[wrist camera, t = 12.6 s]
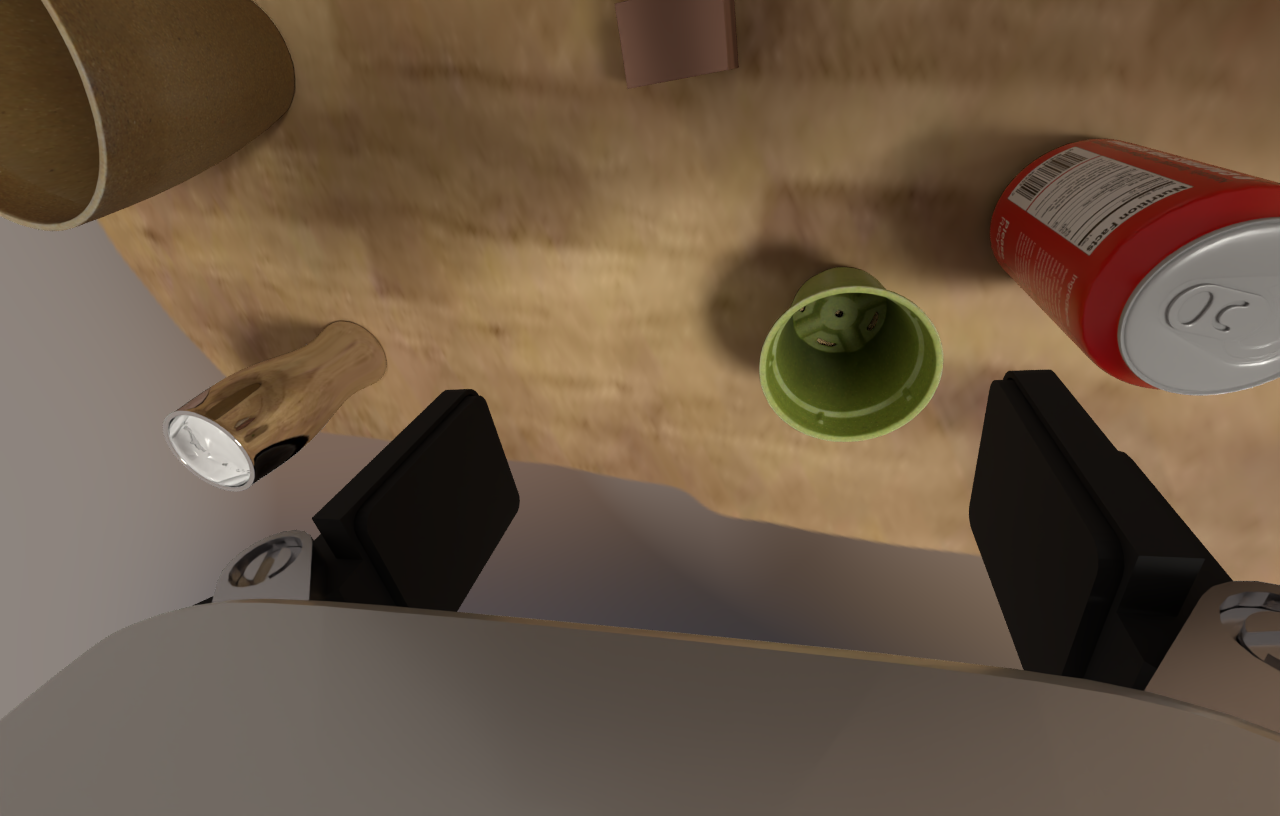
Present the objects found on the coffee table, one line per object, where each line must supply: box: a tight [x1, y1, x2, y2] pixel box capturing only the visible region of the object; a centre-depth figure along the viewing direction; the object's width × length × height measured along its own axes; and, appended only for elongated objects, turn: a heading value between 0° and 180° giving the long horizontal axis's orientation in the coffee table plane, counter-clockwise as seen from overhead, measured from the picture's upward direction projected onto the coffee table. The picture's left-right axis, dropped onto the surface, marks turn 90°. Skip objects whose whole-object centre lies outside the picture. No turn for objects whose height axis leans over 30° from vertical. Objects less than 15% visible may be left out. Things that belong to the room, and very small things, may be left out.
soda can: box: [990, 139, 1280, 395], centre depth 25 cm, size 8×8×15 cm
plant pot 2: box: [759, 267, 943, 442], centre depth 34 cm, size 9×9×9 cm
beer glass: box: [163, 321, 387, 491], centre depth 43 cm, size 7×7×15 cm
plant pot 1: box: [0, 0, 294, 231], centre depth 31 cm, size 15×15×16 cm
